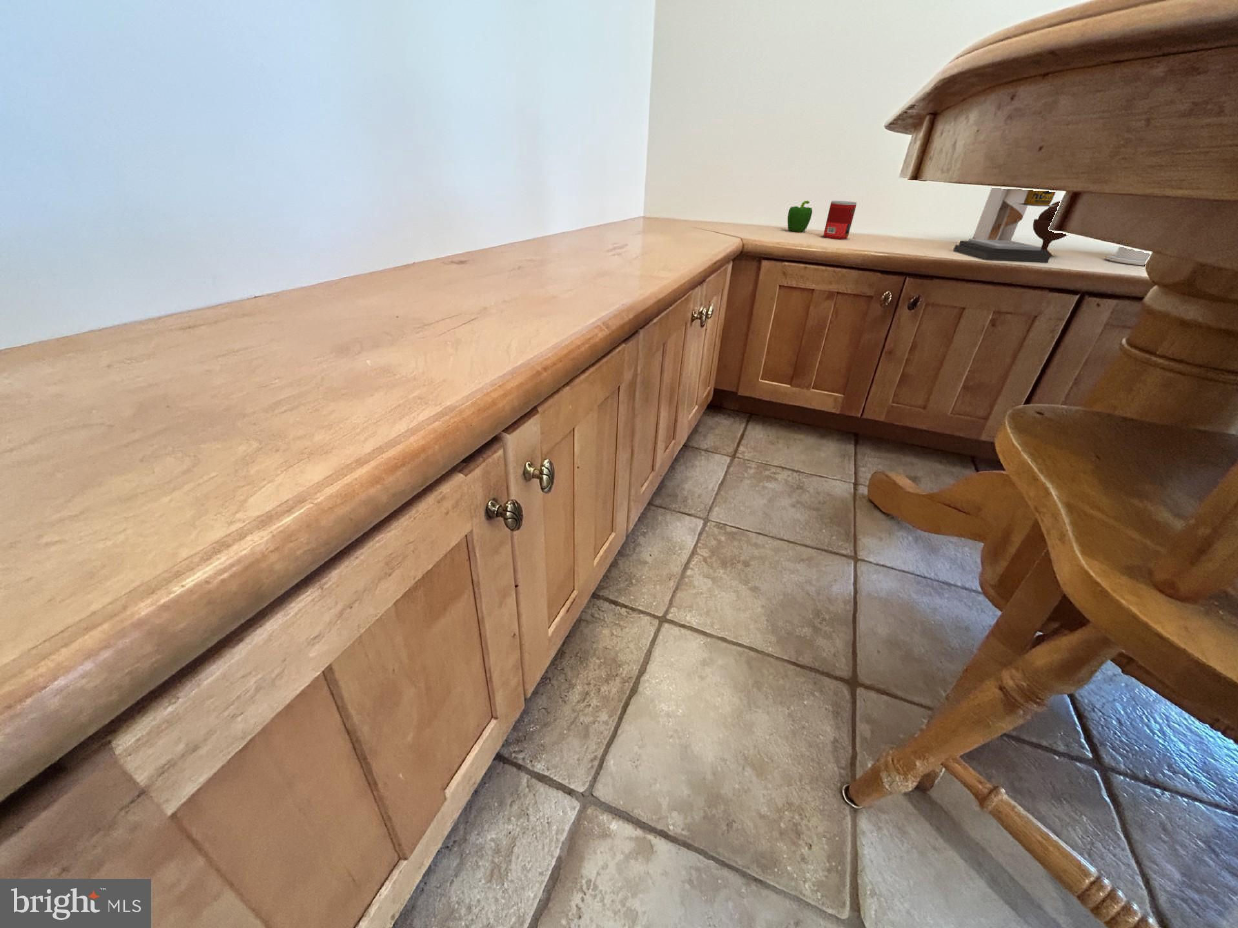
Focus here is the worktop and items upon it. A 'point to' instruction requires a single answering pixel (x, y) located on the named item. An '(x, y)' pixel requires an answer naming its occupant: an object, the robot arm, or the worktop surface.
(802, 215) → the bell pepper
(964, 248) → the scale
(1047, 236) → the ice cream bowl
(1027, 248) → the scale pan
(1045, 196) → the condiment
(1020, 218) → the display case
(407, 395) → the worktop surface
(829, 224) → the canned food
